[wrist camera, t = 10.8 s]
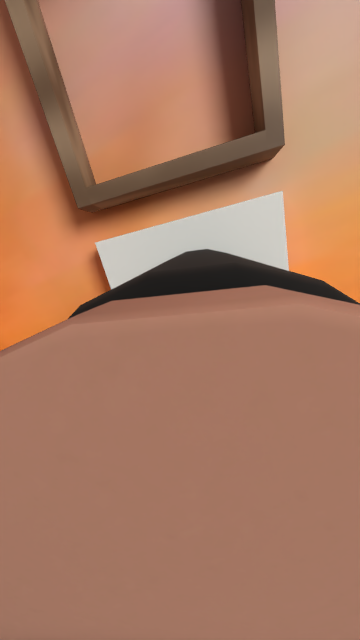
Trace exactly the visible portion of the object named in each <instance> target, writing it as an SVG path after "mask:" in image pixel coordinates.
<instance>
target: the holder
mask: <svg viewBox="0 0 360 640" xmlns="http://www.w3.org/2000/svg"><path fill="white" fill-rule="evenodd" d="M5 3H6V6H7V8H8V11H9V14H10V17H11V20H12V23H13V25H14V28H15V31H16V34H17V37H18V40H19V42H20V45H21V48H22V51H23V54H24V57H25V59H26V62H27V65H28V68H29V71H30V74H31V76H32V79H33V82H34V85H35V88H36V91H37V93H38V96H39V99H40V102H41V105H42V108H43V110H44V113H45V116H46V119H47V122H48V125H49V127H50V130H51V133H52V136H53V139H54V142H55V144H56V147H57V150H58V153H59V156H60V159H61V161H62V164H63V167H64V170H65V173H66V176H67V178H68V181H69V184H70V187H71V190H72V193H73V195H74V198H75V201H76V204H77V207H78V208H79V209H82V210H85V211H88V212H92V213H93V212H96V211H99V210H103V209H106V208H109V207H113V206H116V205H119V204H123V203H126V202H129V201H132V200H136V199H139V198H142V197H146V196H149V195H152V194H156V193H159V192H162V191H166V190H169V189H172V188H176V187H179V186H182V185H185V184H189V183H192V182H195V181H199V180H202V179H205V178H209V177H212V176H215V175H219V174H222V173H225V172H229V171H232V170H235V169H238V168H242V167H245V166H248V165H252V164H255V163H258V162H262V161H265V160H268V159H272V158H274V156H275V155H276V154H277V153H278V152H279V151H280V149H281V148H282V147H283V146H284V145H285V141H284V126H283V112H282V98H281V83H280V69H279V55H278V41H277V26H276V12H275V0H241V5H242V14H243V24H244V33H245V43H246V52H247V62H248V71H249V81H250V90H251V100H252V109H253V119H254V128H255V133H254V134H251V135H248V136H245V137H242V138H239V139H236V140H233V141H230V142H226V143H223V144H220V145H217V146H214V147H211V148H208V149H205V150H202V151H199V152H196V153H192V154H189V155H186V156H183V157H180V158H177V159H174V160H171V161H168V162H165V163H162V164H158V165H155V166H152V167H149V168H146V169H143V170H140V171H137V172H134V173H131V174H127V175H124V176H121V177H118V178H115V179H112V180H109V181H106V182H103V183H100V184H97V185H96V183H95V180H94V176H93V173H92V170H91V167H90V164H89V161H88V158H87V154H86V151H85V148H84V145H83V142H82V139H81V136H80V132H79V129H78V126H77V123H76V120H75V117H74V114H73V110H72V107H71V104H70V101H69V98H68V95H67V92H66V88H65V85H64V82H63V79H62V76H61V73H60V70H59V67H58V63H57V60H56V57H55V54H54V51H53V48H52V45H51V41H50V38H49V35H48V32H47V29H46V26H45V23H44V19H43V16H42V13H41V10H40V7H39V4H38V1H37V0H5Z"/></svg>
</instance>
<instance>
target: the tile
mask: <svg viewBox="0 0 360 640" xmlns="http://www.w3.org/2000/svg"><path fill="white" fill-rule="evenodd" d="M95 244H96V247H97V250H98V253H99V256H100V258H101V261H102V264H103V267H104V270H105V273H106V276H107V279H108V282H109V284H110V287H111V289H113V288H115V287H117V286H119V285H121V284H123V283H125V282H127V281H129V280H131V279H133V278H135V277H137V276H139V275H141V274H143V273H144V272H146V271H148V270H150V269H152V268H154V267H156V266H158V265H160V264H162V263H164V262H166V261H168V260H170V259H172V258H174V257H176V256H178V255H180V254H182V253H184V252H186V251H194V250H202V249H210V250H215V251H220V252H225V253H229V254H232V255H236V256H239V257H243V258H246V259H249V260H253V261H256V262H260V263H263V264H267V265H270V266H274V267H277V268H280V269H284V270H287V271H289V267H288V254H287V241H286V229H285V216H284V203H283V191H280V192H276V193H273V194H269V195H266V196H262V197H258V198H255V199H251V200H248V201H244V202H240V203H237V204H233V205H230V206H226V207H222V208H219V209H215V210H211V211H208V212H204V213H201V214H197V215H193V216H190V217H186V218H183V219H179V220H175V221H172V222H168V223H165V224H161V225H157V226H154V227H150V228H146V229H143V230H139V231H136V232H132V233H128V234H125V235H121V236H118V237H114V238H110V239H107V240H103V241H100V242H96V243H95Z"/></svg>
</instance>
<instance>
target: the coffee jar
mask: <svg viewBox="0 0 360 640" xmlns="http://www.w3.org/2000/svg"><path fill="white" fill-rule="evenodd" d="M0 640H360V303H358V302H356V301H355V300H353V299H351V298H350V297H348V296H347V295H345V294H343V293H342V292H340V291H338V290H337V289H335V288H334V287H332V286H330V285H329V284H327V283H326V282H324V281H322V280H318V279H315V278H311V277H308V276H305V275H301V274H298V273H294V272H291V271H287V270H284V269H280V268H277V267H274V266H270V265H267V264H263V263H260V262H256V261H253V260H249V259H246V258H243V257H239V256H236V255H232V254H229V253H225V252H220V251H215V250H210V249H202V250H194V251H186V252H184V253H182V254H180V255H178V256H176V257H174V258H172V259H170V260H168V261H166V262H164V263H162V264H160V265H158V266H156V267H154V268H152V269H150V270H148V271H146V272H144V273H143V274H141V275H139V276H137V277H135V278H133V279H131V280H129V281H127V282H125V283H123V284H121V285H119V286H117V287H115V288H113V289H111V290H109V291H108V292H106V293H104V294H102V295H100V296H98V297H96V298H94V299H92V300H90V301H88V302H86V303H84V304H82V305H80V306H79V308H78V309H77V310H76V311H75V312H74V313H73V314H72V315H71V316H70V317H69V318H68V319H67V320H65V321H63V322H61V323H59V324H57V325H55V326H52V327H50V328H48V329H46V330H44V331H42V332H40V333H38V334H35V335H33V336H31V337H29V338H27V339H25V340H23V341H21V342H19V343H16V344H14V345H12V346H10V347H8V348H6V349H4V350H2V351H0Z"/></svg>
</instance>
